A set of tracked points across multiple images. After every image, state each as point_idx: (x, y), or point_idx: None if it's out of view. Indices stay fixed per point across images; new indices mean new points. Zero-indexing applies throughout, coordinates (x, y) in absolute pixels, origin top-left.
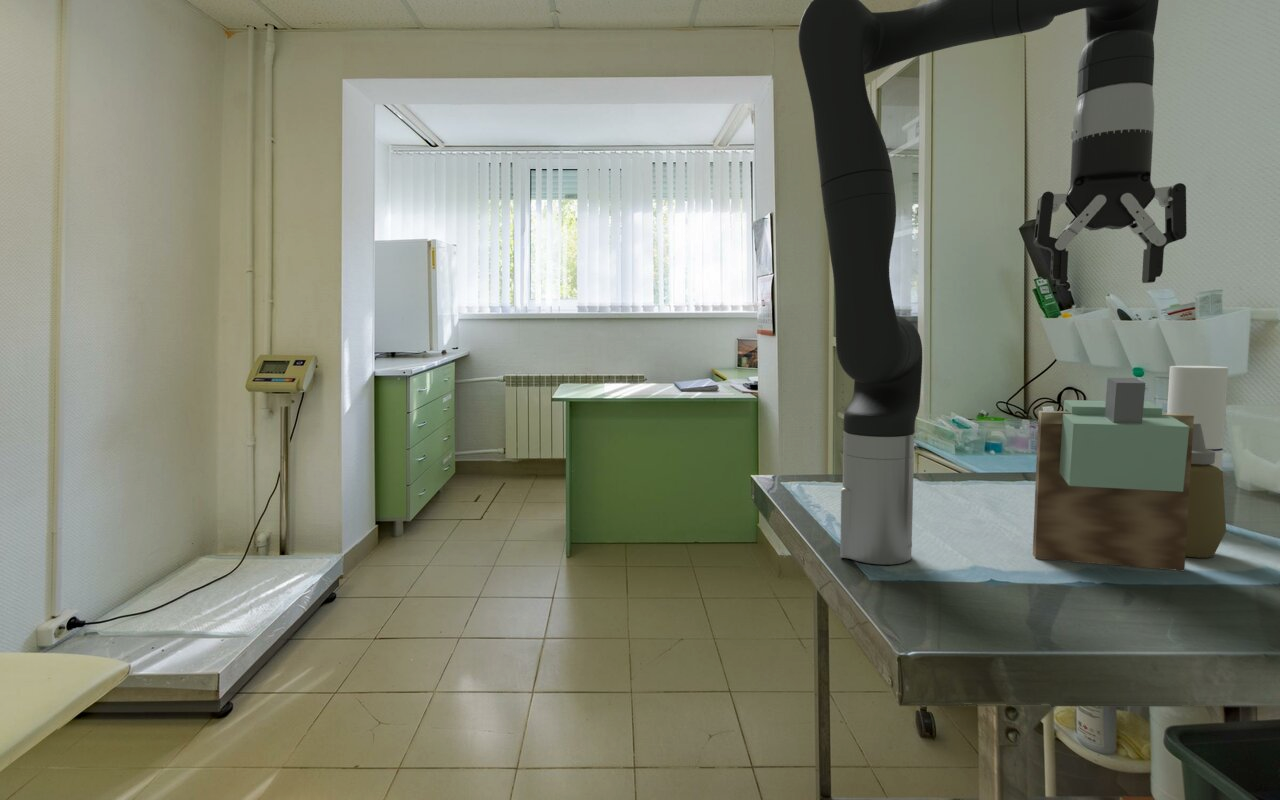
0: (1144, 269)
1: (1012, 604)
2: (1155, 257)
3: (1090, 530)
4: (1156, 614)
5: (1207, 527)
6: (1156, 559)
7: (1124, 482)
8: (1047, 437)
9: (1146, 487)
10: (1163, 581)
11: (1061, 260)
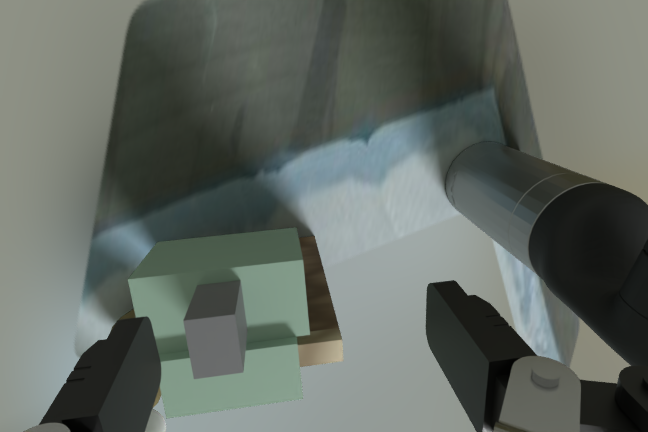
0: (145, 394)
1: (353, 62)
2: (90, 382)
3: None
4: (216, 87)
5: (130, 317)
6: None
7: (228, 237)
8: (325, 315)
9: (201, 238)
10: (194, 205)
11: (493, 327)
